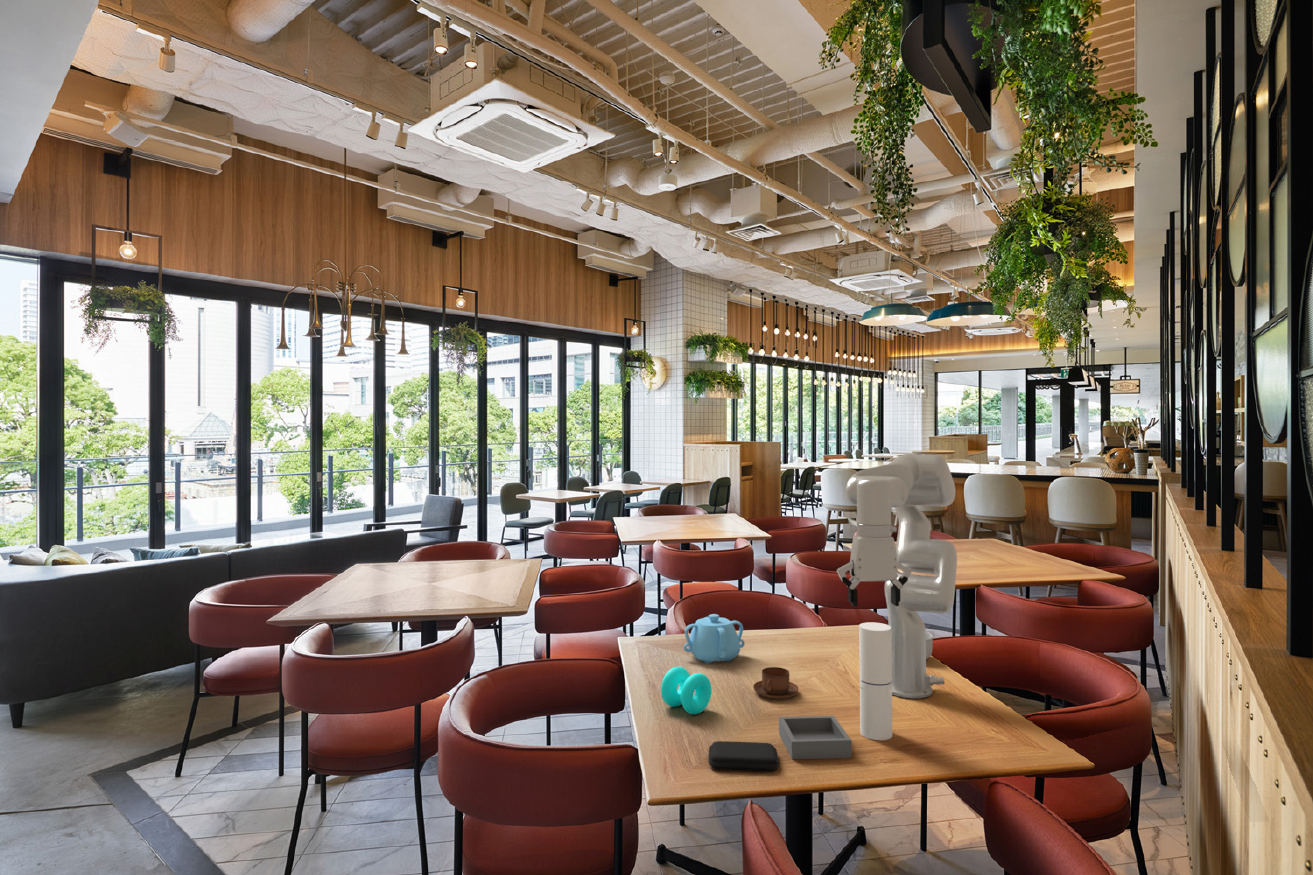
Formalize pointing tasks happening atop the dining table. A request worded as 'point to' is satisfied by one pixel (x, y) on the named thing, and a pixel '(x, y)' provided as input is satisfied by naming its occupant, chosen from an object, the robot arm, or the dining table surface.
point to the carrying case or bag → (743, 756)
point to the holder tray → (814, 737)
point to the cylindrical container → (875, 681)
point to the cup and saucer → (775, 684)
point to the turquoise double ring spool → (686, 690)
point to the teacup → (929, 644)
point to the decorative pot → (714, 639)
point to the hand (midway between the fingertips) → (874, 605)
